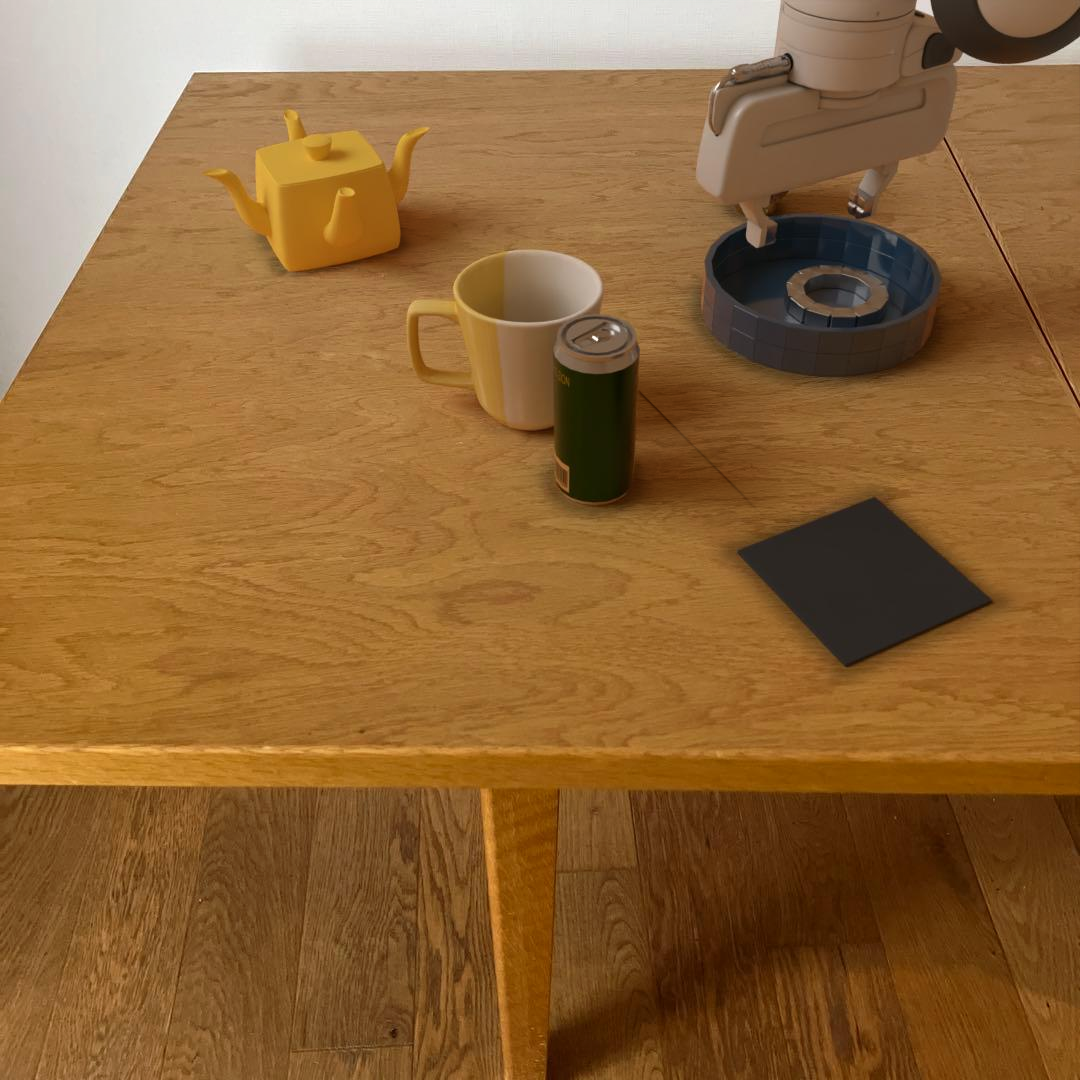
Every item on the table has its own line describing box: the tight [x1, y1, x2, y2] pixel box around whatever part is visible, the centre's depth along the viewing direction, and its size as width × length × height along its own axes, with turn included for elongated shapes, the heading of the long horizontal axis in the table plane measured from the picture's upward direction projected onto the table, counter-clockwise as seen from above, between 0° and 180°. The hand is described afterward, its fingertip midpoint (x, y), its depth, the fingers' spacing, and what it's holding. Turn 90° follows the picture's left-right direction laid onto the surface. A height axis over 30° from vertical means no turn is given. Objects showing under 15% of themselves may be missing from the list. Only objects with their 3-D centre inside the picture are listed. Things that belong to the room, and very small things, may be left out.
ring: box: [784, 265, 889, 328], centre depth 97 cm, size 8×8×1 cm
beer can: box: [553, 313, 641, 507], centre depth 78 cm, size 5×5×12 cm
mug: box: [405, 248, 605, 432], centre depth 85 cm, size 14×10×10 cm
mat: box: [736, 496, 993, 668], centre depth 74 cm, size 11×11×1 cm
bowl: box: [700, 213, 943, 378], centre depth 95 cm, size 18×18×4 cm
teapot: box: [200, 108, 430, 272], centre depth 104 cm, size 15×14×10 cm
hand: (811, 228), depth 91 cm, fingers open, 8 cm apart
